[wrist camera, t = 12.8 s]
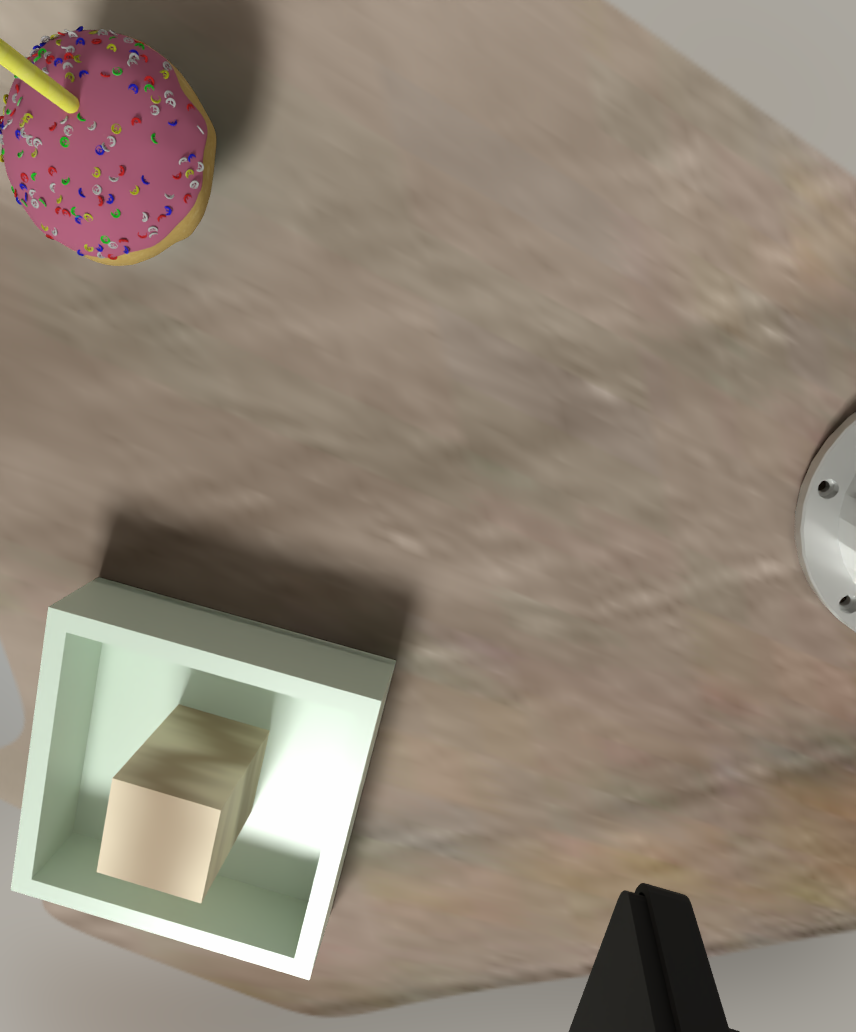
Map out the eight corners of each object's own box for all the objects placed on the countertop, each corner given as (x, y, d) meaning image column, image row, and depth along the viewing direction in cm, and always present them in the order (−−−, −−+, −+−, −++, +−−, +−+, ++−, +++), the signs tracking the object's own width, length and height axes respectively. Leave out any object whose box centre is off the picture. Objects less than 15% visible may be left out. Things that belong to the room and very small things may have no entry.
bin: (396, 660, 40) (381, 701, 36) (329, 915, 44) (309, 980, 40) (98, 577, 41) (48, 606, 36) (60, 835, 45) (10, 890, 40)
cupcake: (49, 87, 35) (-179, -28, 24) (228, 49, 34) (80, -92, 23) (95, 284, 37) (-96, 266, 26) (266, 254, 36) (148, 222, 24)
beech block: (269, 730, 41) (220, 810, 34) (251, 811, 42) (201, 903, 36) (178, 704, 41) (112, 778, 34) (163, 785, 42) (96, 872, 36)
